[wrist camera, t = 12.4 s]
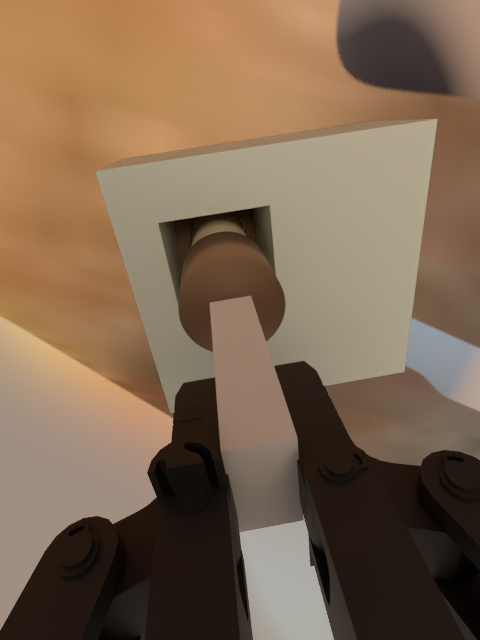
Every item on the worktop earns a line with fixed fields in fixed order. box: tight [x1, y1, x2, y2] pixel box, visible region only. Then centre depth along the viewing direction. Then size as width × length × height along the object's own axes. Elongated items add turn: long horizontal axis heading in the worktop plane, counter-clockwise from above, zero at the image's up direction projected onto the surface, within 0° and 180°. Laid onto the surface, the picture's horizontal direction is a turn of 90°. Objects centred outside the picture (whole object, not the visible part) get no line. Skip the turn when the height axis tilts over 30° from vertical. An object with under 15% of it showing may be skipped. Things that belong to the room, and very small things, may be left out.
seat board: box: [95, 119, 437, 413], centre depth 23 cm, size 15×16×7 cm
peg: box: [178, 212, 285, 352], centre depth 20 cm, size 4×4×12 cm
